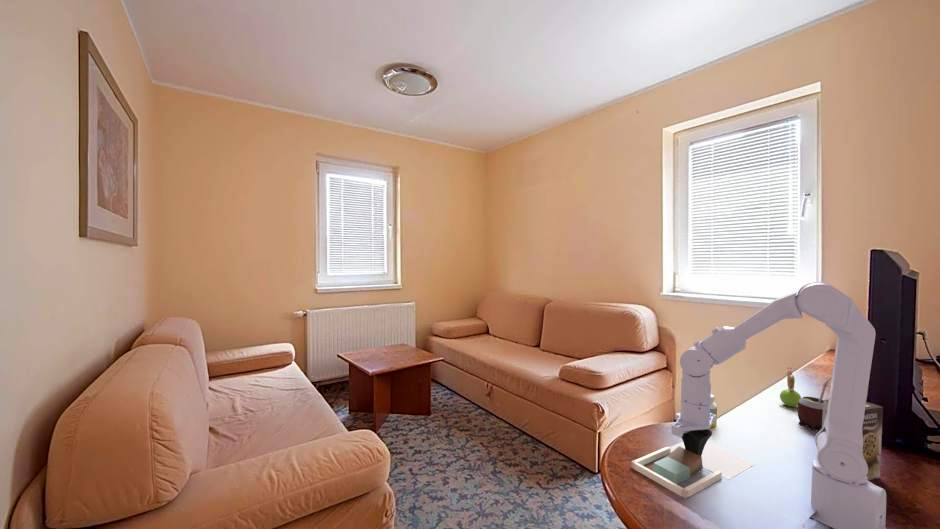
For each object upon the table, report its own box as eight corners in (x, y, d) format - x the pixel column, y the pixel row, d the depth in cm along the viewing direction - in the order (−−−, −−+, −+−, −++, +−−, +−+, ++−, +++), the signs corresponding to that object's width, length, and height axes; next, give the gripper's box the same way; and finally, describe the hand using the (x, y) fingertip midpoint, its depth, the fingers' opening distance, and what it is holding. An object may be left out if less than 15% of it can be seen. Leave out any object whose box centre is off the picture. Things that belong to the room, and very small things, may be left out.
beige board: (755, 470, 84) (755, 464, 84) (728, 486, 78) (728, 479, 78) (692, 442, 96) (692, 437, 96) (664, 455, 90) (664, 448, 90)
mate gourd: (796, 427, 106) (798, 375, 106) (797, 418, 112) (799, 369, 112) (833, 436, 101) (835, 382, 101) (831, 426, 107) (833, 375, 107)
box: (721, 485, 79) (721, 472, 79) (685, 506, 72) (685, 491, 72) (666, 457, 89) (667, 446, 89) (630, 473, 82) (631, 461, 82)
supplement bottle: (699, 422, 109) (700, 389, 108) (719, 429, 104) (721, 395, 104) (690, 426, 106) (691, 393, 105) (710, 434, 101) (712, 399, 101)
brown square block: (702, 468, 82) (701, 456, 81) (690, 480, 79) (688, 467, 79) (680, 457, 86) (679, 446, 85) (667, 468, 83) (666, 456, 83)
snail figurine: (798, 404, 123) (800, 368, 123) (803, 411, 118) (804, 373, 117) (777, 400, 126) (779, 365, 126) (781, 407, 121) (782, 370, 120)
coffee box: (853, 484, 79) (856, 410, 79) (818, 468, 86) (821, 399, 85) (881, 478, 82) (885, 406, 81) (845, 462, 88) (848, 395, 88)
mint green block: (689, 481, 79) (689, 467, 79) (675, 488, 76) (676, 474, 76) (666, 469, 83) (667, 456, 83) (653, 476, 80) (653, 462, 80)
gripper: (694, 389, 91) (693, 443, 91) (659, 400, 83) (657, 459, 84) (726, 399, 84) (724, 457, 85) (691, 412, 77) (689, 476, 78)
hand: (693, 459), depth 84 cm, fingers closed
